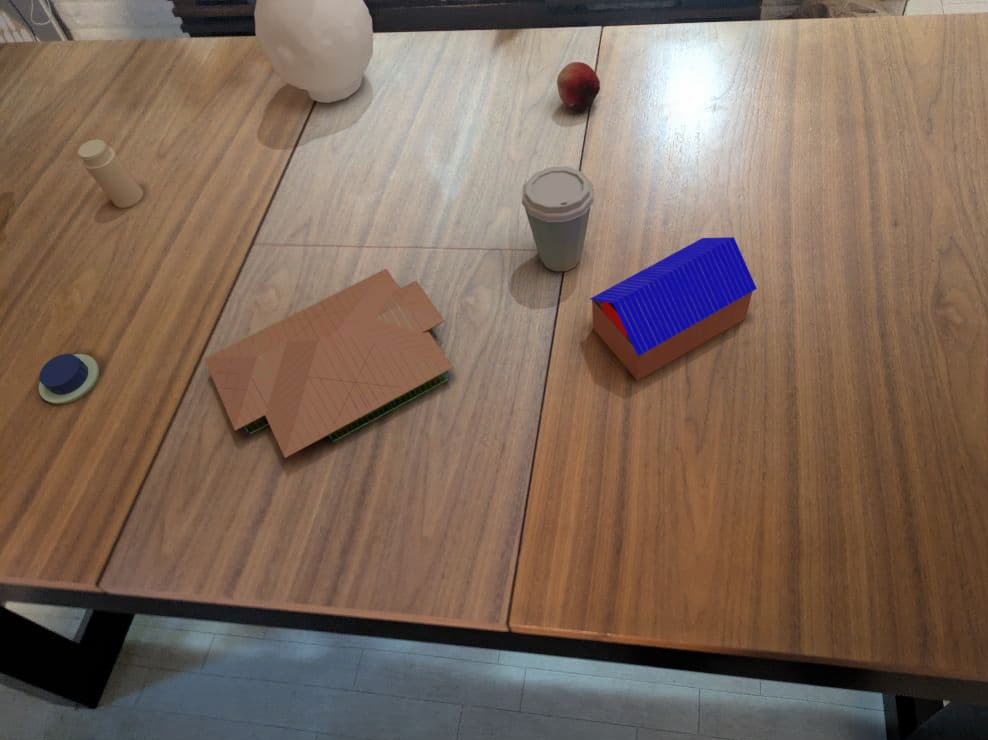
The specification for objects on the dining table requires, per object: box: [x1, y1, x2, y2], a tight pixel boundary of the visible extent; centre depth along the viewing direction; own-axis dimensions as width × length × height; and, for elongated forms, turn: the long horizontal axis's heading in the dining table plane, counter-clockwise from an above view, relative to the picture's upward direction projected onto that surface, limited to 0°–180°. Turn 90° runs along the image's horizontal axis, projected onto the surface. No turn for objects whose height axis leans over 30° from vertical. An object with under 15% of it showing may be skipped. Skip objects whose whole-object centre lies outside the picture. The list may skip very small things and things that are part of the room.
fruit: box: [556, 61, 601, 111], centre depth 129 cm, size 8×8×8 cm
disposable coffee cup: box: [521, 166, 595, 272], centre depth 107 cm, size 11×11×15 cm
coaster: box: [38, 353, 100, 405], centre depth 109 cm, size 9×9×1 cm
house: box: [589, 236, 757, 382], centre depth 99 cm, size 12×20×12 cm, turn 121°
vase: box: [253, 0, 374, 104], centre depth 130 cm, size 19×21×30 cm
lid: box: [38, 353, 88, 394], centre depth 108 cm, size 6×6×2 cm
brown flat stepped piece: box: [204, 268, 454, 459], centre depth 102 cm, size 23×33×8 cm
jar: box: [77, 138, 144, 209], centre depth 126 cm, size 6×6×11 cm
